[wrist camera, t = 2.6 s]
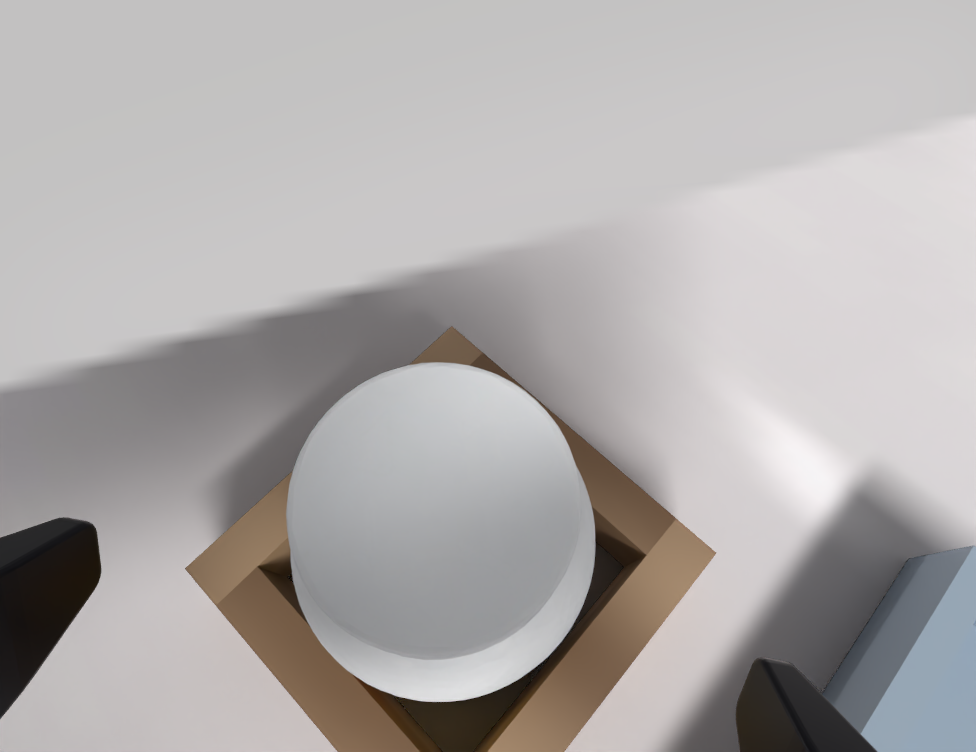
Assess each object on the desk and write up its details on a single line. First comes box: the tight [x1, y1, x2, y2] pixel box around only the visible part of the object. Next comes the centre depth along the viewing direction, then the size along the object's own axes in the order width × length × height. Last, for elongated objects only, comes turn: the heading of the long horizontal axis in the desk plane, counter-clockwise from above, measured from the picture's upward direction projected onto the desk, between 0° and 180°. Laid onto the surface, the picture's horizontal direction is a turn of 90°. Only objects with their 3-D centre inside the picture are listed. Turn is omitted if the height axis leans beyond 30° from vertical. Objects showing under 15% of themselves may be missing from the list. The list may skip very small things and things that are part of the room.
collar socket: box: [185, 326, 716, 752], centre depth 16 cm, size 9×9×2 cm
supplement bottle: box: [286, 362, 595, 702], centre depth 13 cm, size 5×5×10 cm
